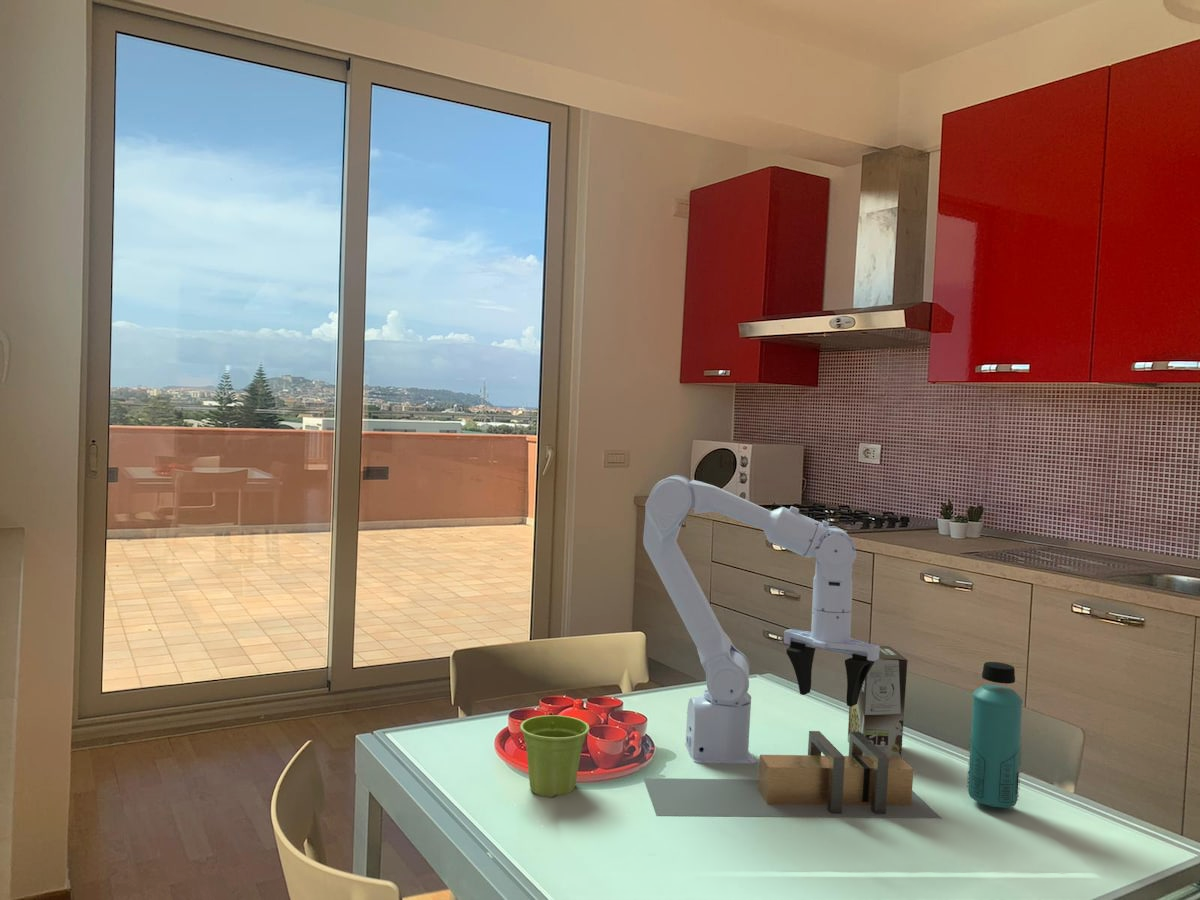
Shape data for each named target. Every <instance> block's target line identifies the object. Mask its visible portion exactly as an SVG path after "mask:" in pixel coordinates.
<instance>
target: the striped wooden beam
mask: <svg viewBox="0 0 1200 900" xmlns="http://www.w3.org/2000/svg"><path fill="white" fill-rule="evenodd" d="M843 756H844V757H845V764H844V782H843V799H842V805H871V803H872V786H873V769H874V761H873V760H872V759H870V758H869V757H868V756H849V755H843ZM758 766H759V768H758V780H759V781H758V791H759V793H760V794H761V796H762V797H763V799H764V800H765V802H766V803H767V804H790V805H828V790H829V773H830V760H829V759H828V758H827V757H826V756H825V755H821V756H816V755H808V754H807V755H806V754H805V755H804V754H803V755H802V754H800V755H799V754H760V755H759V765H758ZM913 781H914V768H913V767H912V766H910V765H909V764H908V763H907V762H906V761H905V760H904V759H902V757H901V758H900V757H889V767H888V783H887V800H886V805H887V806H911V802H912V791H913Z"/></svg>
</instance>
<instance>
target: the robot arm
mask: <svg viewBox="0 0 1200 900" xmlns="http://www.w3.org/2000/svg"><path fill="white" fill-rule="evenodd" d="M644 504H645V507H644V508H645V514H644V515H645V517H644V524H643V526H644V527H643V538H642V544H643V547H644V549H645V551H646V553H647V555H648V557H649V559H650V561H651V563H652V564H653V566H654V568H655V570H656V572H657V574H658V576H659V578H660V580H661V582H662V583H663V586H664V588H665V589H666V591H667V593H668V595H669V597H670V599H671V602H672V603H673V605H674V607H675V609H676V611H677V613H678V614H679V616H680V618H681V620H682V622H683V624H684V626H685V628H686V630H687V633H688V634H689V635H690V636H689V637H691V639H692V641H693V643H694V645H695V647H696V649H697V653H698V657H699V661H700V664H701V667H702V668H703V670H704V672H705V678H706V680H705V681H706V682H705V683H706V685H705V686H706V689H705V690H704V692H703V695H701V696H696V697H691V698H689V699H688V702H687V712H686V713H687V715H686V730H685V731H686V732H685V742H684V746H685V748H686V750H687V752H688V754H689V756H690V758H691V760H692V761H693V763H695V764H725V765H726V764H730V765H731V764H733V765H735V764H737V765H740V764H741V765H743V764H744V765H755V764H757V761H756V759H755V757H753V755H752V753H751V752H750V750H749V746H750V745H749V744H750V727H751V708H752V696H751V694H750V693H749V687H750V679H749V676H750V673H751V665H750V661H749V659H748V657H747V656H746V655H745V653H743V652H742V651H740V650H739V649H737V648H736V646H735V645H734V643H733V642H732V640H731V638H730V637H729V636H728V635H727V633H726V632H725V631H724V629H723V628H722V625H721V624H720V622H719V620H718V618H717V616H716V614H715V613H714V611H713V608H712V607H711V604H710V602H709V601H708V599H707V596H705V593H704V591H703V590H702V587H701V586H700V583H699V582H698V580H697V578H696V576H695V574H694V573H693V570H692V568H691V567H690V565H689V563H688V561H687V559H686V557H685V555H684V553H683V552H682V550H681V548H680V546H679V544H678V540H677V539H678V537H679V534H680V531H681V527H682V525H683V522H684V519H685V518H686V516H687V515H688V514H689V513H690V512H691V510H692V509H694V510H693V513H694V515H698V514H704V513H712V512H713V513H717V514H721V515H724V516H725V517H729V518H730V519H733V520H736V521H739V522H741V523H745V524H747V525H750V526H751V527H755V528H756V529H760V530H763V532H764V534H765V537H766V539H767V542H769V543H771V544H773V545H776V546H779V547H781V548H783V549H786V550H788V551H791V552H792V553H795V554H797V555H799V556H802V557H804V558H815V559H816V560H815V572H814V576H813V579H812V580H813V583H812V604H811V605H812V608H811V628H810V631H808V630H800V629H799V630H798V629H793V628H789V629H785V630H784V632H783V635H784V636H783V643H784V644H788V645H789V647H787V648H786V649H785V650H786V655H787V656H788V658H789V660H790V662H791V665H792V667H793V670H794V674H795V676H796V680H797V685H798V686H797V687H798V689H799V695H801V696H805V695H807V694H810V693H811V688H812V672H813V671H812V669H813V662H814V658H815V657H814V655H815V653H816V649H817V650H821V651H822V650H823V651H828V652H833V653H837V654H841V655H847V656H851V657H849V658H847V659H844V666H845V671H846V673H845V674H846V681H847V682H846V683H847V685H846V686H847V687H846V706H847V707H849V706H850V707H852V706H854V705H856V704H857V702H858V698H859V694H860V691H861V688H862V685H863V682H864V680H865V678H866V676H867V674H868V672H869V670H870V669H871V667H872V665H873V664H874V662H875V660H878V659H879V649H880V646H881V645H877V644H871V643H869V642H864V641H862V640H858V639H855V638H853V637H851V635H852V634H851V632H852V631H851V629H852V628H851V627H852V607H853V605H852V604H853V588H854V587H853V586H854V585H853V579H852V575H853V569H854V568H853V564H854V562H855V561H856V559H857V554H858V552H857V551H856V545H855V543H854V540H853V539H852V538H851V537H850V535H849V534H848V533H847V532H846V531H844V530H843V529H840V528H839V527H838V526H837V525H836V526H835V525H832V526H831V525H830V523H829V522H828V521H826V520H824V519H823V520H822V521H818V520H815V518H811V517H808V516H806V515H804V514H801V513H800V509H799V508H797V507H795V506H792V505H791V506H790V508H787V507H785V506H780V507H778V508H776V509H774V510H769V509H767V508H765V507H763V506H760V505H758V504H756V503H753V502H752V501H749V500H747V499H745V498H743V497H740V496H738V495H735V494H734V493H732V492H729V491H727V490H725V489H722V488H721V487H718V486H716V485H713V484H710V483H706V482H704V481H700V480H697V479H696V480H695V479H692V480H690V479H688V477H685V476H682V475H677V474H676V475H671V476H668V477H666V478H663V479H661V480H660V481H658V482H656V484H655V485H654V486H653V487H652V489H651V491H650V493H649V496H648V498H647V500H646V502H645V503H644ZM693 507H694V508H693Z"/></svg>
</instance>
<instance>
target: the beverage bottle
mask: <svg viewBox="0 0 1200 900" xmlns="http://www.w3.org/2000/svg"><path fill="white" fill-rule="evenodd" d="M1015 674H1016V671H1015V667H1014V666H1013V665H1011V664H1008V663H1005V662H998V661H986V662H984V663H983V669H982V673H981V678H982V679H983V680H986V681H989V682H991V683H992V682H993V683H997V684H1006V685H1007V684H1014V683H1015V682H1016V675H1015ZM997 684H983V685H982V686H979V687H978V688H977V689H975V690H974V691H973V693H972V715H971V728H970V739H969V744H968V748H969V756H968V757H969V761H968V762H967V765H968V771H967V774H968V777H967V783H966V785H967V792H968V795H969V798H971V799H973V800H974V801H976V802H977V803H981V804H983V805H986V806H989V807H996V808H1011V807H1014V806H1016V805H1017V802H1018V799H1019V797H1020V796H1019V790H1020V787H1019V786H1020V783H1021V781H1020V780H1021V779H1020V774H1021V771H1020V767H1021V763H1022V762H1021V761H1022V760H1021V758H1022V751H1021V749H1022V743H1021V740H1022V734H1021V732H1022V711H1023V699H1022V698H1021V696H1020V695H1019V694H1018V692H1016V691H1015V690H1014V689H1013V688H1010V687H1007V686H1002V685H997Z"/></svg>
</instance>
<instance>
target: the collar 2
mask: <svg viewBox="0 0 1200 900" xmlns="http://www.w3.org/2000/svg"><path fill="white" fill-rule="evenodd" d="M848 743H849V744H848V745H849V746H848V756H862V751H863V752H864V753H865V754H866V755H867V756H868V757H869V758H870V759H872V760H873V761H874V769H873V786H872V803H871V811H872V812H873V813H874V814H886V800H887V783H888V767H889V757H887V756H886V755H885V754H884V753H883V752H882V751H881V750H880V749H879V748H877V747H876V746H875V745H874V744H873V743H872V742H871V741H870V740H869V739H868V738H866V737H865V736H864V735H863V734H862V733H861V732H850V741H849V742H848Z"/></svg>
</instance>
